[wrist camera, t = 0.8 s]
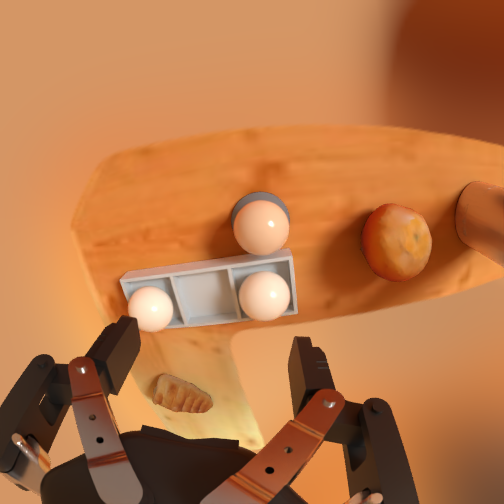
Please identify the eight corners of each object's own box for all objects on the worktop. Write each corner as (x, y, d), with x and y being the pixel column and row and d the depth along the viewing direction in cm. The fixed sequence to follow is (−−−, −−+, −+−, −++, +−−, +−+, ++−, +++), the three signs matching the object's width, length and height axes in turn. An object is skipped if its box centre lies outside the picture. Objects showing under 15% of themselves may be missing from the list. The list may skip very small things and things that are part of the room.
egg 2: (284, 259, 29) (290, 281, 24) (289, 301, 31) (295, 327, 26) (236, 266, 29) (232, 289, 25) (244, 307, 31) (242, 334, 26)
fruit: (336, 270, 29) (381, 261, 21) (352, 207, 31) (394, 184, 23) (389, 293, 30) (436, 290, 22) (400, 234, 32) (444, 220, 24)
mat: (285, 188, 27) (285, 188, 27) (292, 243, 29) (292, 244, 29) (227, 196, 28) (226, 197, 27) (236, 251, 30) (236, 252, 29)
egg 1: (171, 275, 30) (157, 298, 25) (183, 314, 32) (173, 340, 27) (132, 280, 30) (113, 302, 25) (145, 317, 32) (131, 342, 27)
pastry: (219, 388, 38) (216, 407, 34) (206, 410, 40) (204, 427, 36) (159, 368, 36) (153, 386, 33) (153, 392, 39) (147, 409, 35)
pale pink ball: (282, 192, 27) (289, 201, 22) (288, 241, 29) (295, 259, 24) (231, 200, 27) (226, 210, 22) (239, 248, 29) (237, 268, 24)
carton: (289, 248, 30) (292, 255, 27) (295, 303, 32) (297, 313, 30) (127, 271, 31) (119, 279, 28) (144, 320, 33) (138, 330, 31)
